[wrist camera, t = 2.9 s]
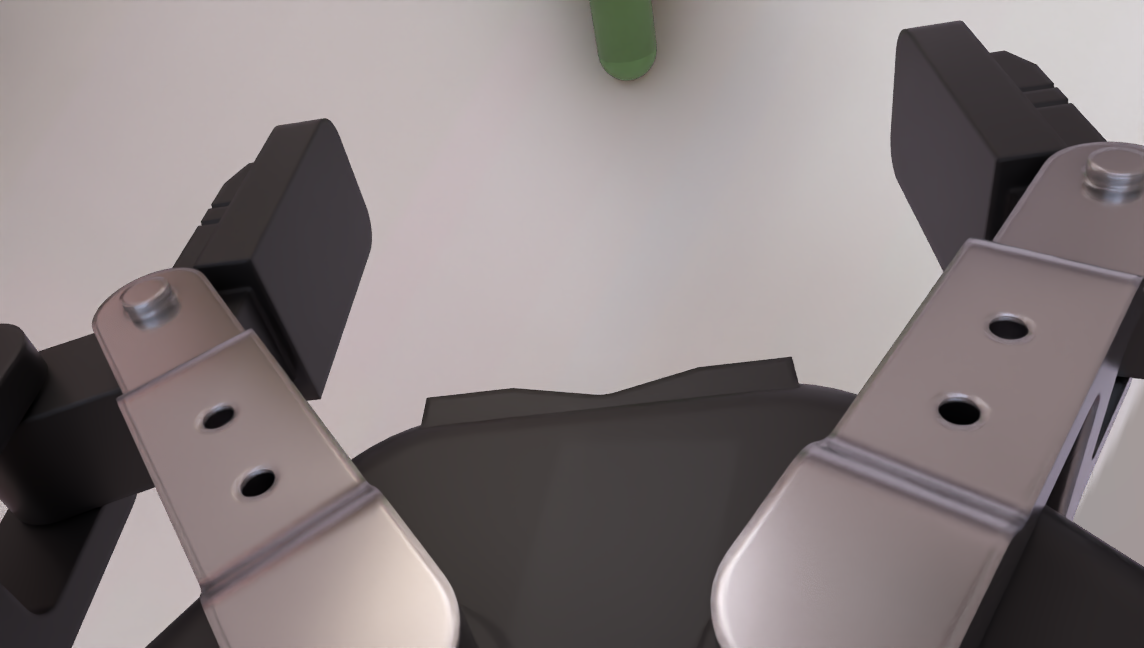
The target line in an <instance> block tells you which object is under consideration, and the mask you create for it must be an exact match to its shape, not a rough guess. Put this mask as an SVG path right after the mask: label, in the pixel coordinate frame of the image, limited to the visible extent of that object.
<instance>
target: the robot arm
mask: <svg viewBox="0 0 1144 648" xmlns="http://www.w3.org/2000/svg"><path fill="white" fill-rule="evenodd" d="M891 157H892V163H893V168H894V172H895V176H896V179H897V181H898V183H899V185H900V187H901V189H902V191H903V193H904V195H905V197H906V199H907V201H908V203H909V205H910V207H911V208H912V210H913V212H914V214H915V216H916V218H917V220H918V222H919V224H920V226H921V228H922V230H923V232H924V234H925V236H926V238H927V240H928V242H929V244H930V246H931V248H932V250H933V252H934V254H935V256H936V258H937V260H938V262H939V264H940V266H941V268H942V270H943V274H942V275H941V277H940V278H939V279H938V281H937V282H936V284H935V285H934V287H933V288H932V289H931V291H930V292H929V294H928V295H927V297H926V298H925V299H924V301H923V302H922V304H921V305H920V307H919V308H918V309H917V311H916V312H915V314H914V315H913V317H912V318H911V319H910V321H909V322H908V324H907V325H906V327H905V328H904V330H903V331H902V332H901V334H900V335H899V337H898V338H897V340H896V341H895V342H894V344H893V345H892V347H891V348H890V350H889V351H888V352H887V354H886V355H885V357H884V358H883V360H882V361H881V362H880V364H879V365H878V367H877V368H876V370H875V371H874V372H873V374H872V375H871V377H870V378H869V380H868V381H867V382H866V384H865V385H864V387H863V388H862V390H861V391H860V392H859V394H858V395H857V394H853V393H850V392H846V391H842V390H838V389H835V388H829V387H823V386H817V385H809V384H799V383H798V379H797V375H796V371H795V368H794V364H793V360H792V357H785V358H777V359H768V360H759V361H750V362H741V363H732V364H723V365H714V366H706V367H698V368H695V369H691V370H688V371H685V372H681V373H678V374H675V375H671V376H668V377H665V378H661V379H658V380H655V381H651V382H648V383H645V384H642V385H638V386H635V387H632V388H628V389H625V390H622V391H618V392H615V393H611V394H605V395H591V394H579V393H566V392H554V391H541V390H529V389H517V388H510V389H501V390H492V391H484V392H475V393H466V394H457V395H448V396H439V397H430V398H427V399H426V404H425V409H424V414H423V419H422V424H421V425H420V426H417V427H414V428H411V429H408V430H406V431H403V432H401V433H399V434H396V435H394V436H391V437H389V438H387V439H385V440H384V441H382V442H380V443H378V444H376V445H374V446H372V447H370V448H369V449H367V450H366V451H364V452H362V453H361V454H359V455H358V456H356V457H355V458H353V459H352V460H351V459H350V458H349V457H348V455H347V454H346V453H345V451H344V450H343V449H342V447H341V446H340V445H339V443H338V442H337V441H336V439H335V438H334V437H333V435H332V434H331V433H330V431H329V430H328V429H327V427H326V426H325V425H324V423H323V422H322V421H321V419H320V418H319V417H318V415H317V414H316V413H315V411H314V410H313V409H312V407H311V406H310V405H309V403H308V402H307V401H308V400H317V399H321V396H322V393H323V390H324V387H325V384H326V381H327V378H328V375H329V372H330V369H331V366H332V363H333V360H334V358H335V355H336V352H337V349H338V346H339V343H340V340H341V337H342V334H343V331H344V328H345V325H346V322H347V319H348V316H349V313H350V310H351V307H352V304H353V301H354V298H355V295H356V292H357V289H358V286H359V283H360V280H361V277H362V274H363V271H364V268H365V265H366V262H367V259H368V256H369V253H370V250H371V244H372V231H371V223H370V218H369V214H368V210H367V208H366V205H365V202H364V200H363V197H362V194H361V192H360V189H359V186H358V184H357V181H356V178H355V176H354V173H353V171H352V168H351V165H350V163H349V160H348V157H347V155H346V152H345V149H344V147H343V144H342V142H341V139H340V136H339V134H338V132H337V130H336V128H335V126H334V125H333V123H332V122H331V121H330V120H328V119H326V118H324V119H318V120H311V121H305V122H298V123H292V124H285V125H279V126H276V127H275V128H274V129H273V131H272V132H271V134H270V136H269V137H268V139H267V141H266V143H265V144H264V146H263V148H262V149H261V151H260V153H259V154H258V156H257V158H256V160H255V161H254V163H249V164H247V165H246V166H245V167H244V168H243V169H241V170H240V171H239V172H238V173H237V174H235V175H234V176H233V177H232V178H231V179H229V180H228V181H227V182H226V183H225V184H224V185H223V186H222V188H221V190H220V191H219V193H218V195H217V196H216V198H215V199H214V201H213V203H212V204H211V205H212V208H211V209H208V211H207V212H206V214H205V216H204V217H203V219H202V221H201V224H202V226H198V227H197V229H196V230H195V232H194V234H193V235H192V237H191V238H190V240H189V242H188V243H187V245H186V247H185V248H184V250H183V251H182V253H181V255H180V256H179V258H178V260H177V261H176V263H175V264H174V266H173V268H171V269H165V270H161V271H157V272H154V273H151V274H148V275H145V276H143V277H140V278H138V279H136V280H134V281H132V282H130V283H128V284H127V285H125V286H123V287H122V288H120V289H119V290H117V291H116V292H115V293H113V294H112V295H111V296H110V297H109V298H108V299H106V300H105V301H104V302H103V304H102V305H101V306H100V307H99V308H98V310H97V312H96V313H95V315H94V318H93V321H92V328H93V331H94V333H93V334H90V335H87V336H84V337H81V338H78V339H75V340H72V341H69V342H66V343H63V344H60V345H57V346H54V347H51V348H48V349H45V350H42V351H39V352H38V351H37V349H36V348H35V347H34V345H33V344H32V343H31V341H30V340H29V339H28V337H27V336H26V335H25V334H24V332H23V331H22V330H21V329H20V328H19V327H17V326H15V325H11V324H0V500H1V501H2V502H3V503H4V504H5V505H6V506H7V507H8V508H9V509H8V510H7V512H6V514H5V516H4V517H3V519H2V521H1V523H0V648H72V645H73V643H74V641H75V639H76V636H77V634H78V632H79V629H80V627H81V625H82V622H83V620H84V618H85V615H86V613H87V611H88V608H89V606H90V604H91V602H92V599H93V597H94V595H95V592H96V590H97V588H98V585H99V583H100V581H101V578H102V576H103V574H104V571H105V569H106V567H107V565H108V562H109V560H110V558H111V555H112V553H113V551H114V548H115V546H116V544H117V541H118V539H119V537H120V535H121V532H122V530H123V528H124V525H125V523H126V521H127V518H128V516H129V514H130V511H131V509H132V507H133V504H134V502H135V499H136V496H137V493H140V492H143V491H146V490H148V489H151V488H154V487H156V490H157V492H158V494H159V496H160V498H161V501H162V503H163V505H164V507H165V509H166V512H167V514H168V516H169V518H170V520H171V523H172V525H173V527H174V529H175V531H176V534H177V536H178V538H179V540H180V543H181V545H182V547H183V549H184V551H185V554H186V556H187V558H188V560H189V562H190V565H191V567H192V569H193V571H194V573H195V576H196V578H197V580H198V582H199V585H200V588H201V594H200V597H199V598H198V599H197V600H196V601H195V602H194V603H193V604H192V605H191V606H190V607H189V608H187V609H186V610H185V611H184V612H183V613H182V614H181V615H180V616H179V617H178V618H177V619H176V620H175V621H173V622H172V623H171V624H170V625H169V626H168V627H167V628H166V629H165V630H164V631H163V632H162V633H160V634H159V635H158V636H157V637H156V638H155V639H154V640H153V641H152V642H151V643H150V644H149V645H147V646H146V647H145V648H1144V567H1143V566H1142V565H1140V564H1139V563H1137V562H1135V561H1134V560H1132V559H1131V558H1129V557H1127V556H1126V555H1124V554H1123V553H1121V552H1120V551H1118V550H1116V549H1115V548H1113V547H1111V546H1110V545H1108V544H1107V543H1105V542H1104V541H1102V540H1101V539H1099V538H1098V537H1096V536H1094V535H1093V534H1091V533H1090V532H1088V531H1087V530H1085V529H1083V528H1082V527H1080V526H1079V525H1077V524H1075V523H1074V522H1072V521H1073V518H1074V515H1075V513H1076V510H1077V507H1078V504H1079V502H1080V499H1081V497H1082V494H1083V492H1084V489H1085V487H1086V485H1087V482H1088V480H1089V478H1090V475H1091V473H1092V471H1093V469H1094V466H1095V464H1096V462H1097V459H1098V457H1099V455H1100V453H1101V450H1102V448H1103V446H1104V444H1105V441H1106V439H1107V437H1108V434H1109V432H1110V430H1111V428H1112V425H1113V423H1114V421H1115V419H1116V416H1117V414H1118V412H1119V409H1120V407H1121V405H1122V403H1123V400H1124V398H1125V396H1126V394H1127V391H1128V389H1129V387H1130V384H1131V381H1132V378H1138V379H1144V146H1142V145H1137V144H1131V143H1123V142H1107V141H1106V140H1105V139H1104V138H1103V137H1102V135H1101V134H1100V133H1099V132H1098V131H1097V130H1096V129H1095V128H1094V127H1093V126H1092V125H1091V123H1090V122H1089V121H1088V120H1087V119H1086V118H1085V117H1084V116H1083V115H1082V114H1081V113H1080V112H1079V110H1078V109H1077V108H1076V107H1075V106H1074V105H1073V104H1072V103H1069V104H1068V98H1067V97H1066V96H1065V95H1064V94H1063V93H1062V92H1061V91H1060V90H1059V89H1058V88H1057V87H1056V88H1054V83H1053V82H1052V81H1051V80H1050V79H1049V78H1048V77H1047V76H1046V75H1045V73H1044V72H1043V71H1042V70H1041V69H1040V68H1039V67H1038V66H1037V65H1036V64H1034V63H1032V62H1029V61H1027V60H1025V59H1022V58H1020V57H1018V56H1016V55H1013V54H1011V53H1009V52H1007V51H999V52H992V53H989V52H988V51H987V49H986V48H985V47H984V46H983V45H982V43H981V42H980V41H979V40H978V39H977V38H976V36H975V35H974V34H973V33H972V32H971V30H970V29H969V28H968V27H967V26H966V24H965V23H964V22H963V21H954V22H947V23H941V24H934V25H928V26H921V27H915V28H909V29H903V30H902V31H901V32H900V34H899V37H898V41H897V47H896V58H895V74H894V90H893V105H892V121H891Z"/></svg>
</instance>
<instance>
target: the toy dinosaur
mask: <svg viewBox="0 0 1144 648" xmlns="http://www.w3.org/2000/svg"><path fill="white" fill-rule="evenodd" d="M589 1H590V7H591V13H592V19H593V26H594V32H595V38H596V44H597V50H598V56H599V60H600V63H601V65H602V67H603V68H604V69H605V70H606V72H607V73H609V74H610V75H611V76H613V77H615V78H617V79H620V80H633V79H636V78H639V77H641V76H643V75H644V74H645V73H646V72H647V71H648V70H649V69H650V68H651V66H652V65H653V63H654V60H655V57H656V51H657V50H656V37H655V28H654V20H653V11H652V3H651V0H589Z"/></svg>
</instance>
